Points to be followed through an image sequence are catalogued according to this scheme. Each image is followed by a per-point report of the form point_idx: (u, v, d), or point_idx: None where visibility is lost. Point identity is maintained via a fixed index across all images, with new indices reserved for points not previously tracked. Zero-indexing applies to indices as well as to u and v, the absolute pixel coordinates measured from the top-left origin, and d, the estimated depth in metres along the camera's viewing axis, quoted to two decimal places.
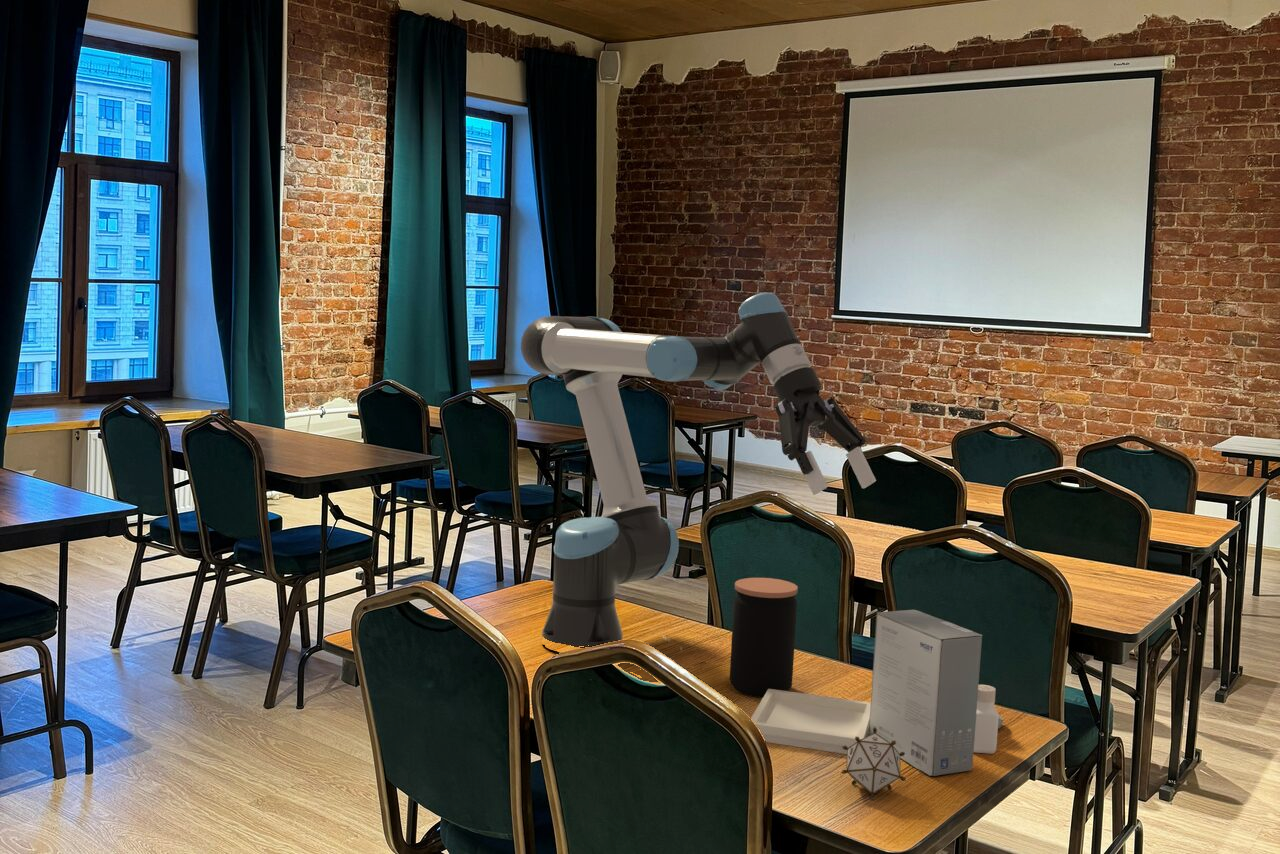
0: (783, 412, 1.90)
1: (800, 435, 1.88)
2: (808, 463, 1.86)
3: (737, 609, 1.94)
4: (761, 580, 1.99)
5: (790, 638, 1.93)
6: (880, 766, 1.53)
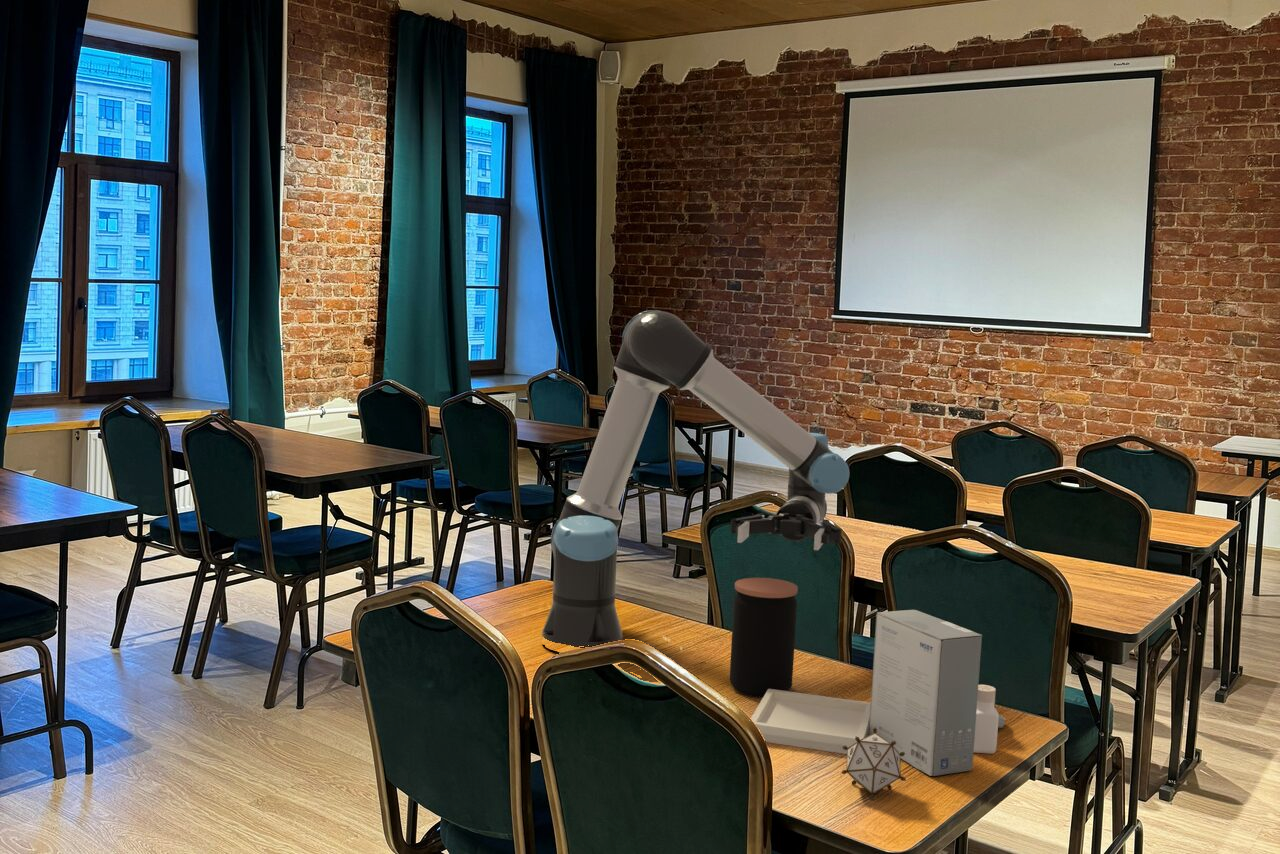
0: None
1: None
2: None
3: (737, 609, 1.94)
4: (761, 580, 1.99)
5: (790, 638, 1.93)
6: (880, 766, 1.53)
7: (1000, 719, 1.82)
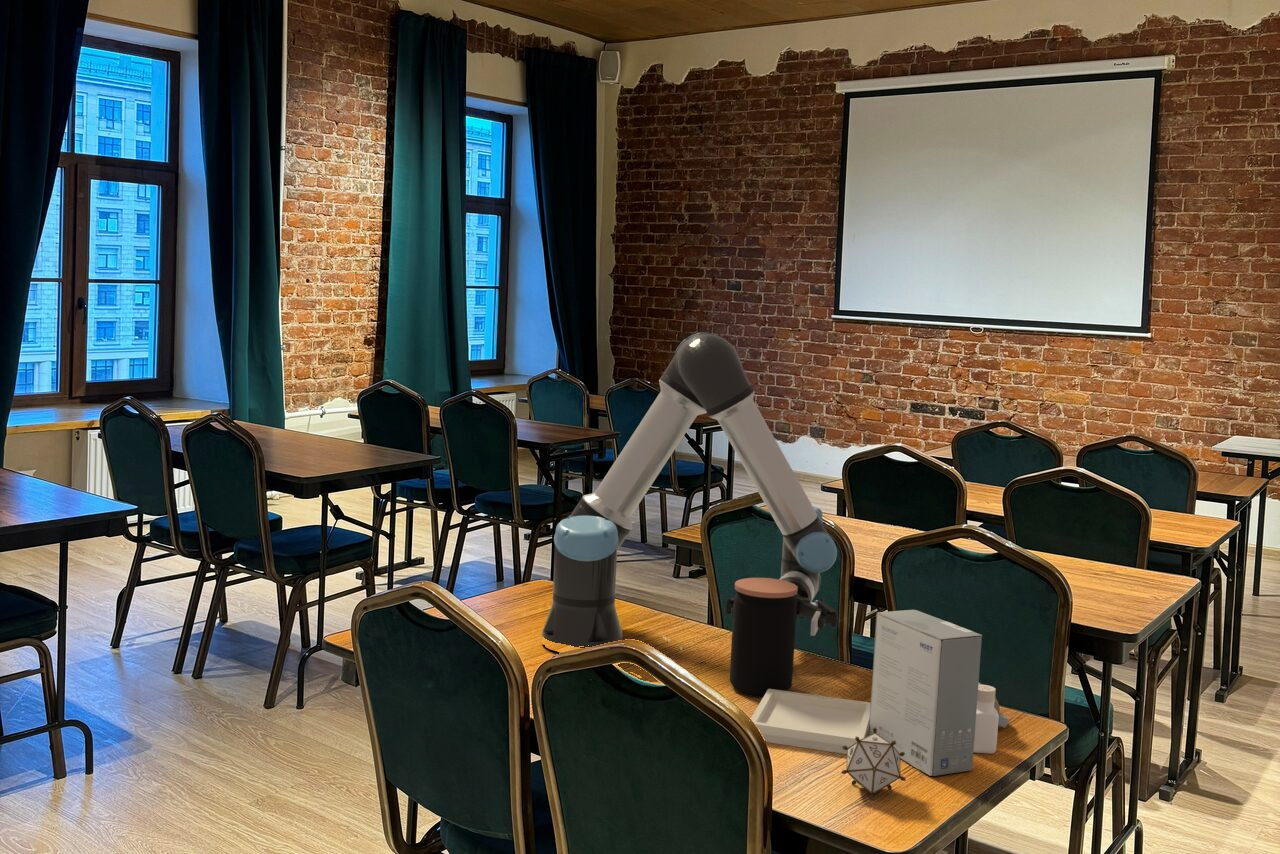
0: None
1: None
2: None
3: (737, 609, 1.94)
4: (761, 580, 1.99)
5: (790, 638, 1.93)
6: (880, 766, 1.53)
7: (1004, 719, 1.82)
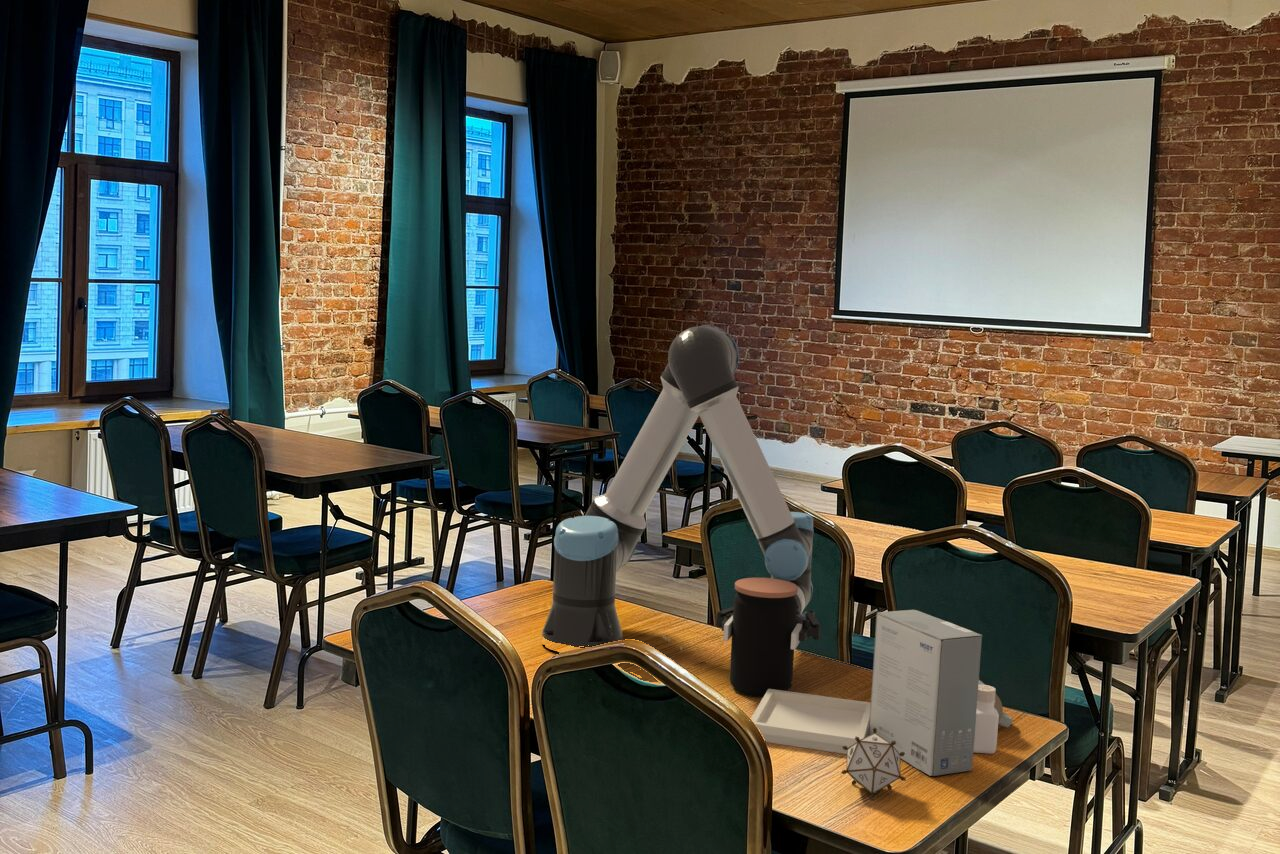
0: None
1: None
2: None
3: (737, 609, 1.94)
4: (761, 580, 1.99)
5: (790, 638, 1.93)
6: (880, 766, 1.53)
7: (1007, 719, 1.82)
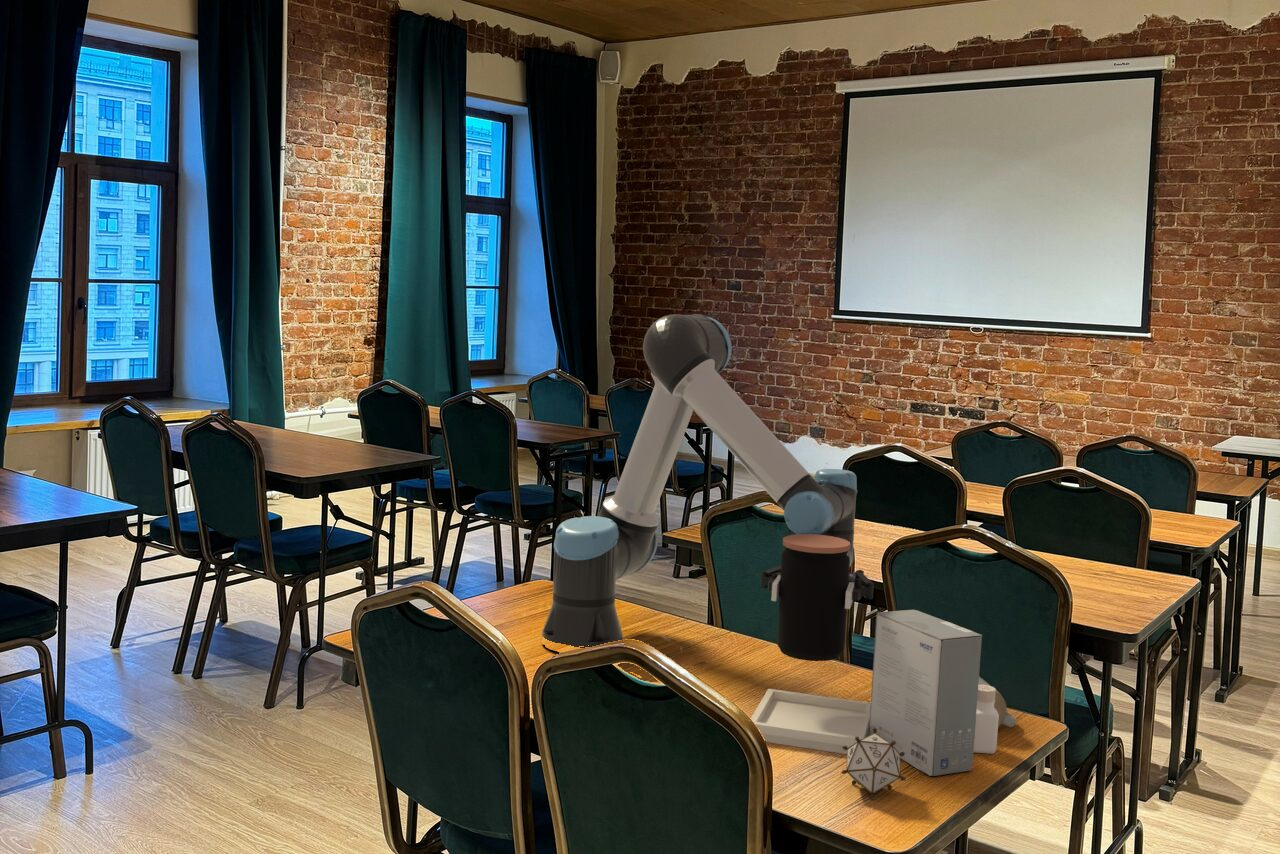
0: None
1: None
2: None
3: (786, 566, 1.81)
4: (810, 536, 1.86)
5: (843, 597, 1.80)
6: (880, 766, 1.53)
7: (1011, 719, 1.82)
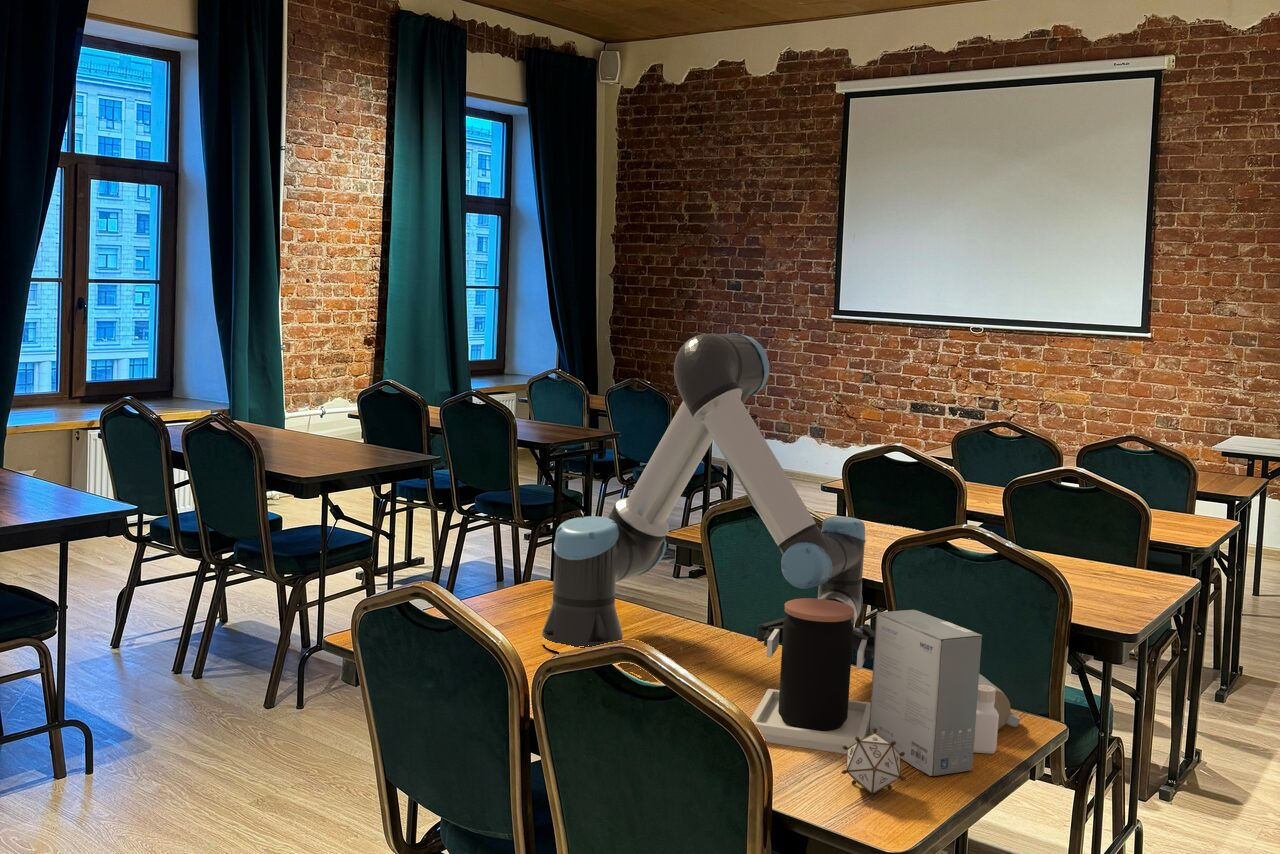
0: None
1: None
2: None
3: (788, 633, 1.76)
4: (813, 601, 1.81)
5: (846, 666, 1.75)
6: (880, 766, 1.53)
7: (1015, 718, 1.83)
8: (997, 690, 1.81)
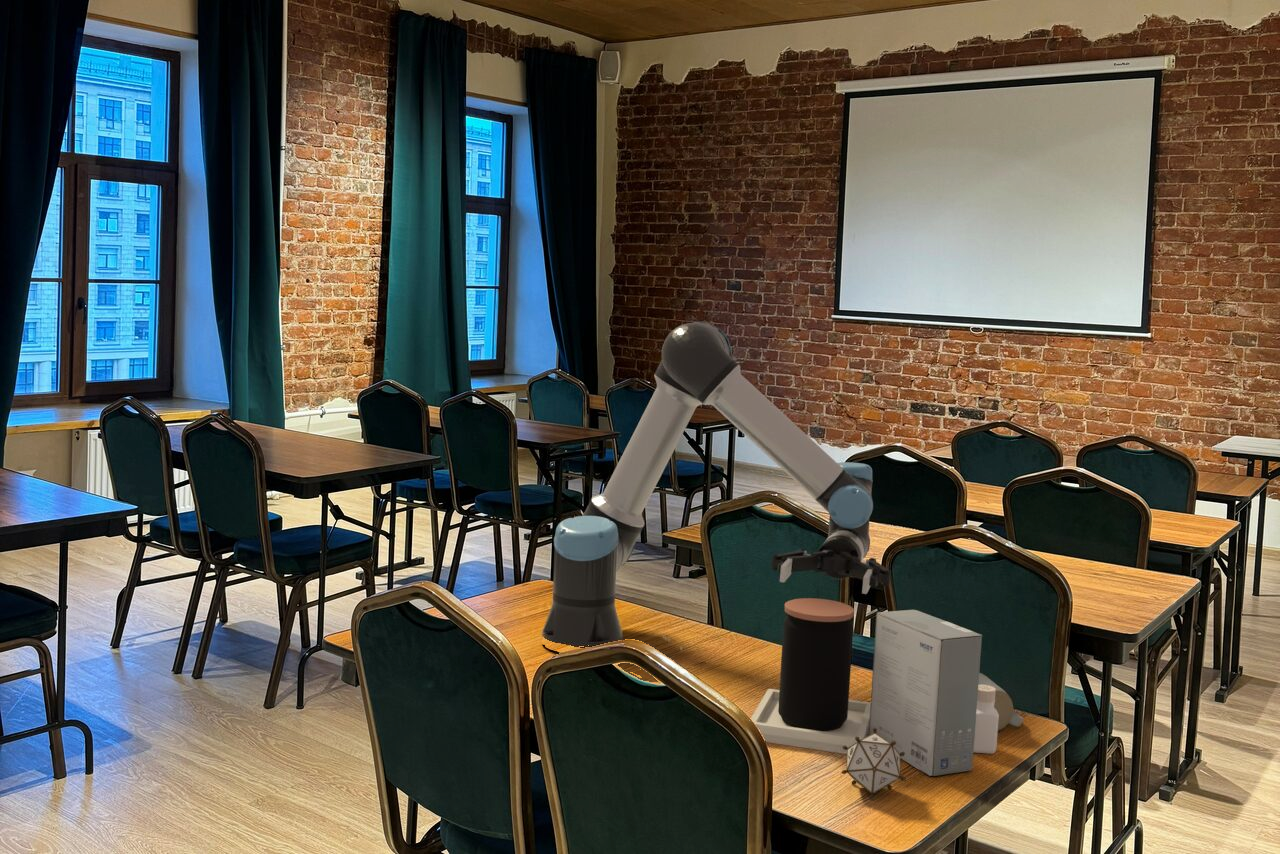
0: None
1: None
2: None
3: (788, 633, 1.76)
4: (813, 601, 1.81)
5: (846, 666, 1.75)
6: (880, 766, 1.53)
7: (1017, 718, 1.83)
8: (1000, 690, 1.81)
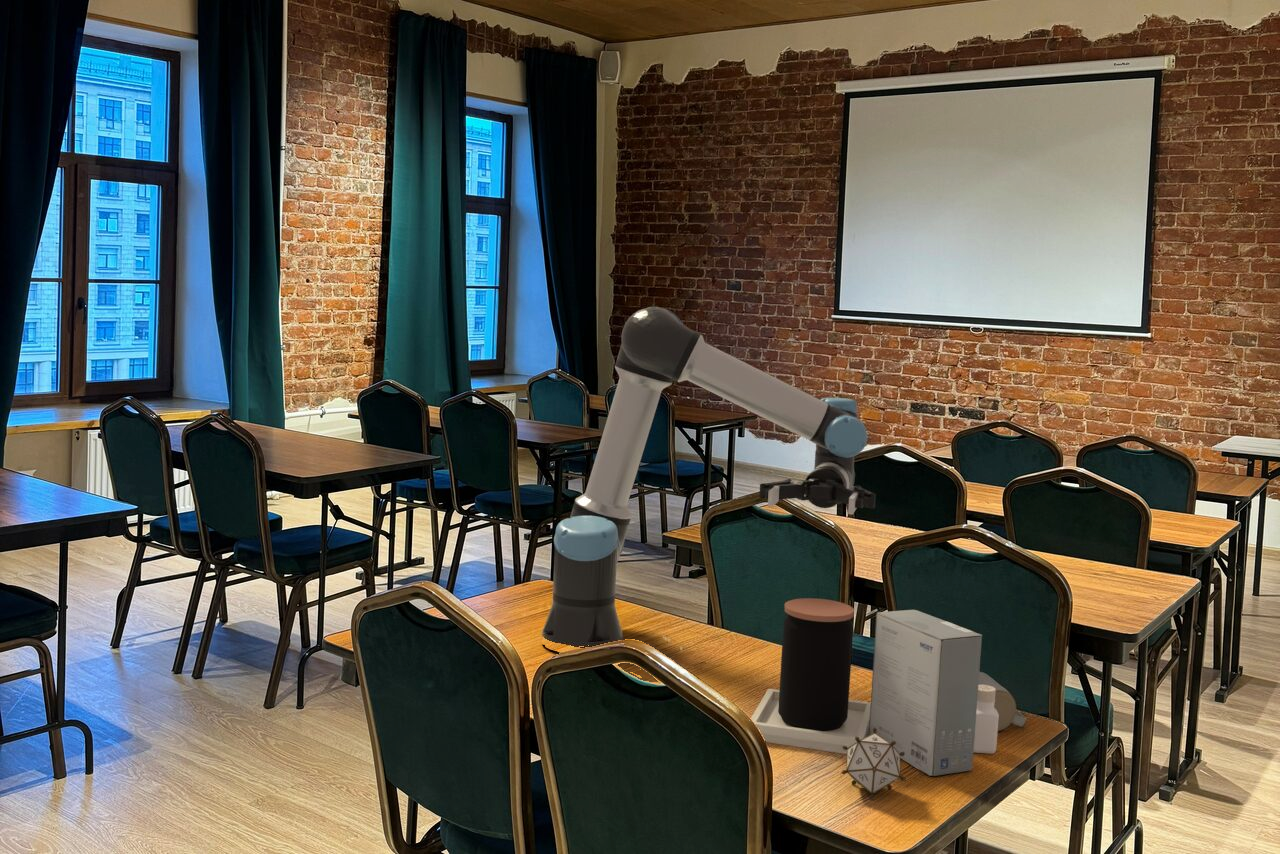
0: None
1: None
2: None
3: (788, 633, 1.76)
4: (813, 601, 1.81)
5: (846, 666, 1.75)
6: (880, 766, 1.53)
7: (1020, 718, 1.83)
8: (1003, 690, 1.81)
